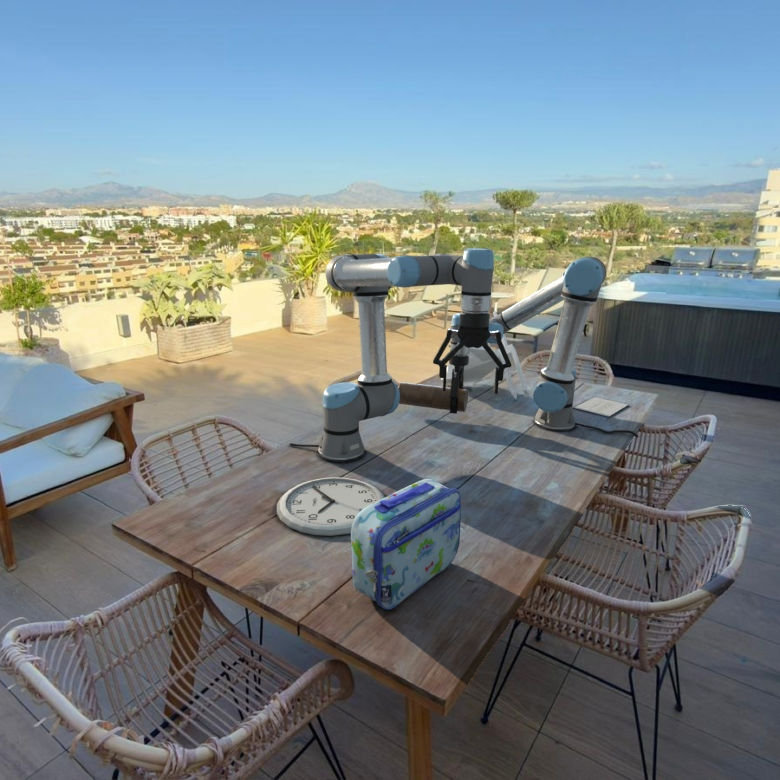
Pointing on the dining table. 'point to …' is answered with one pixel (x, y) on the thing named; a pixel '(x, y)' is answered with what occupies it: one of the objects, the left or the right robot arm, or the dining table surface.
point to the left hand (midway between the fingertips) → (469, 391)
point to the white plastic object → (489, 366)
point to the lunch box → (405, 541)
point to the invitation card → (601, 406)
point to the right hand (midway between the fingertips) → (455, 409)
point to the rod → (430, 396)
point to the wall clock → (326, 505)
